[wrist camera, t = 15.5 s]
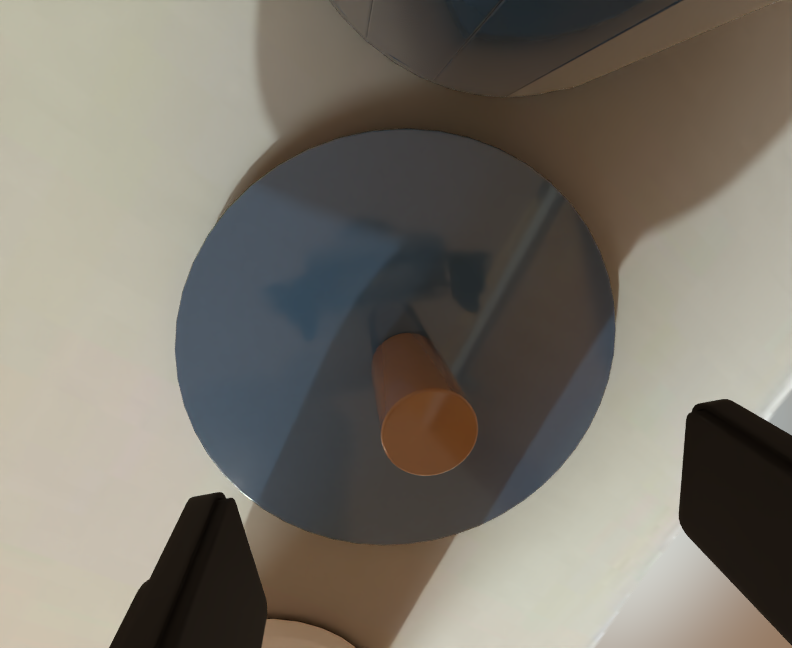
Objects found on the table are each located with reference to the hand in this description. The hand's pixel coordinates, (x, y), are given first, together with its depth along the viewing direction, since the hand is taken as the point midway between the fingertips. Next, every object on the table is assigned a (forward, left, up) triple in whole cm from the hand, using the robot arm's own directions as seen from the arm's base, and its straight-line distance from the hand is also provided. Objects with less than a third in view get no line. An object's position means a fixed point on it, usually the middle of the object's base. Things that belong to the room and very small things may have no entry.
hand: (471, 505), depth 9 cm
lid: (0, 0, -9) cm, 9 cm away
